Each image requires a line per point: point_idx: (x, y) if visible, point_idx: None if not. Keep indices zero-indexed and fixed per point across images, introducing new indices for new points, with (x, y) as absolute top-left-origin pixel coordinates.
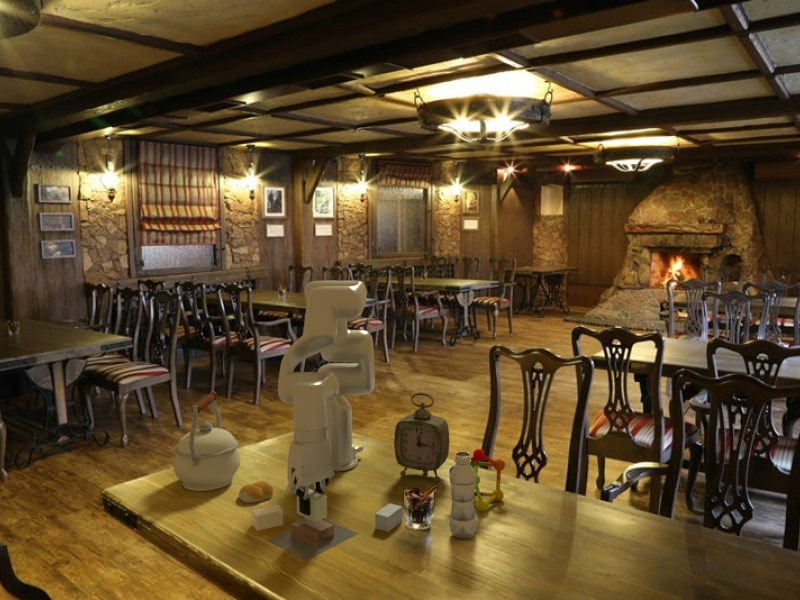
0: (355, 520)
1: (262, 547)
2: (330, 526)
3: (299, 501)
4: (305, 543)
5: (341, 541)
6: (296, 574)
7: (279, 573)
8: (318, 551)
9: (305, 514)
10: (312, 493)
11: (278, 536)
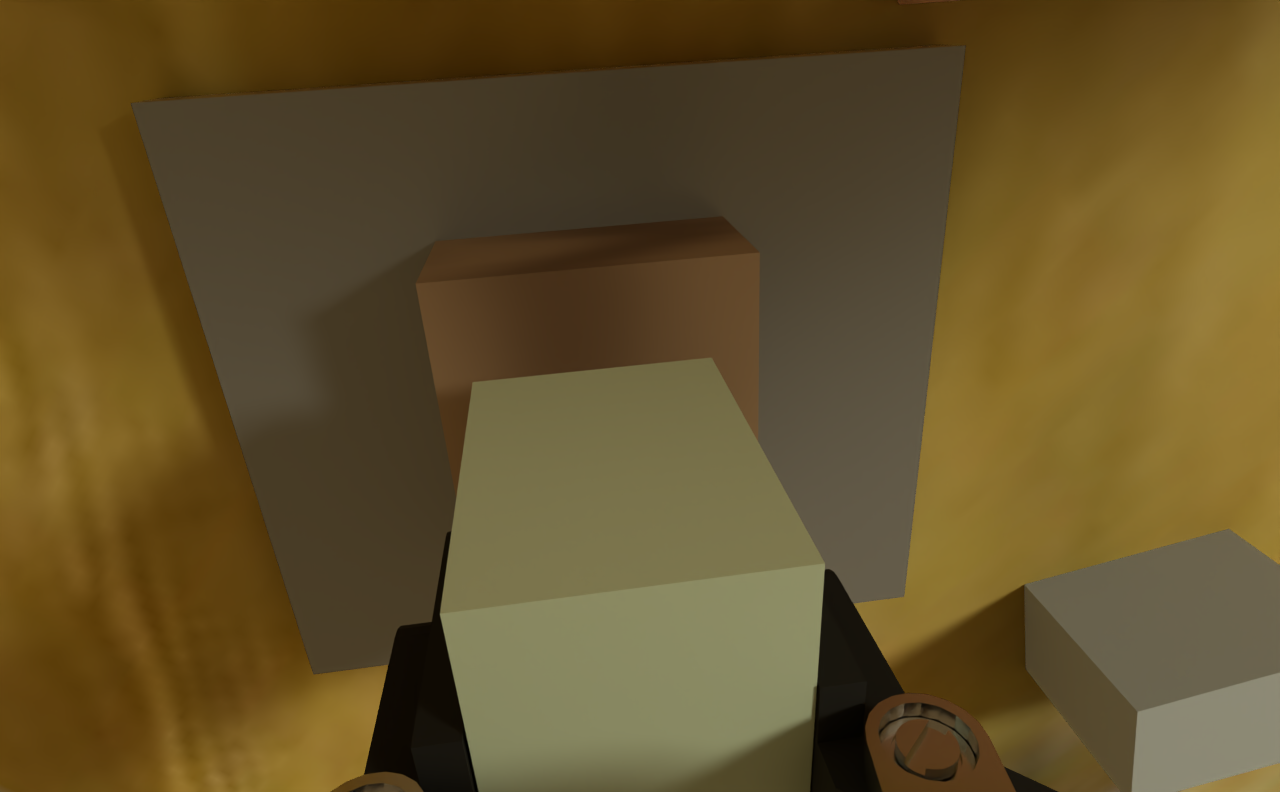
0: (1131, 321)
1: (95, 108)
2: None
3: (374, 744)
4: None
5: None
6: (201, 684)
7: (81, 607)
8: None
9: None
10: (699, 786)
11: (302, 133)
